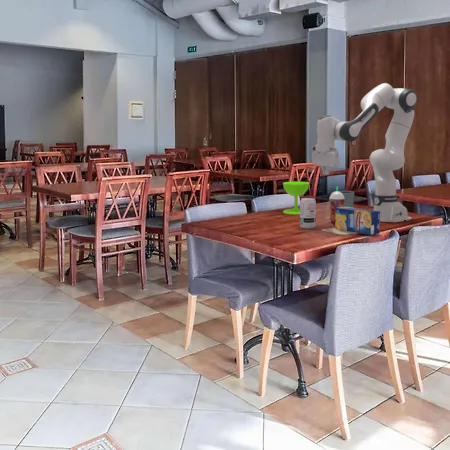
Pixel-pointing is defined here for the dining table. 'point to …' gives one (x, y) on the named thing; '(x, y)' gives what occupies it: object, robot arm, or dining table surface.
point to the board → (339, 232)
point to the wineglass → (295, 194)
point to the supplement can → (307, 213)
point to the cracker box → (358, 220)
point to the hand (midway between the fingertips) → (325, 174)
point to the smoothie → (335, 204)
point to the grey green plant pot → (348, 198)
